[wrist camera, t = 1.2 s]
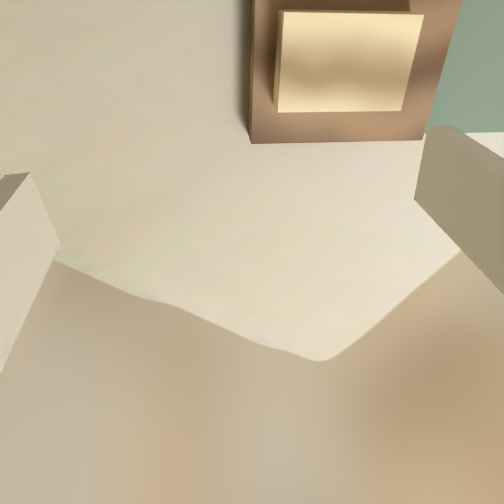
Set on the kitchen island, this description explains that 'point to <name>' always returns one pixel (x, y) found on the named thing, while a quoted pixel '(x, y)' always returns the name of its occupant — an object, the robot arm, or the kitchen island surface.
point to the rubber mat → (473, 71)
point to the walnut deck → (348, 123)
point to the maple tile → (343, 59)
